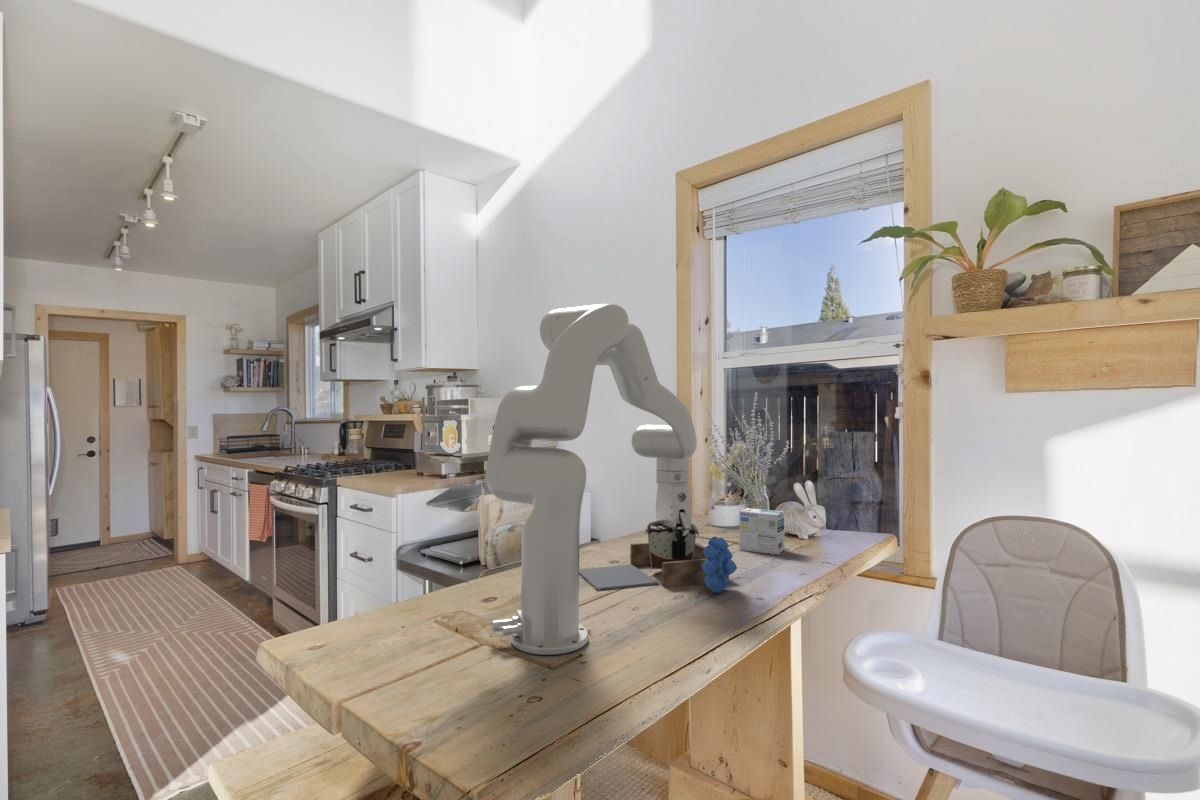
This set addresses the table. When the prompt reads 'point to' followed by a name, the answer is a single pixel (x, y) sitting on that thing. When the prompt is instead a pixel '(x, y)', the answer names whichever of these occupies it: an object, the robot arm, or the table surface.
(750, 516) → the light bulb box
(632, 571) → the gray mat
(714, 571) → the grapes
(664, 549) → the food container
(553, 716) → the table surface
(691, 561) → the open side box
